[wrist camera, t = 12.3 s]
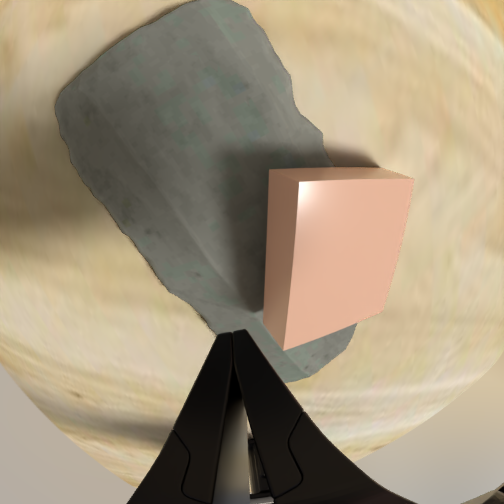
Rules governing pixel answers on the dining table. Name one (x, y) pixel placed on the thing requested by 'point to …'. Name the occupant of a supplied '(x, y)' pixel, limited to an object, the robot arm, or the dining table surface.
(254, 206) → the stone slab
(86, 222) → the dining table surface
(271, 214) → the block
